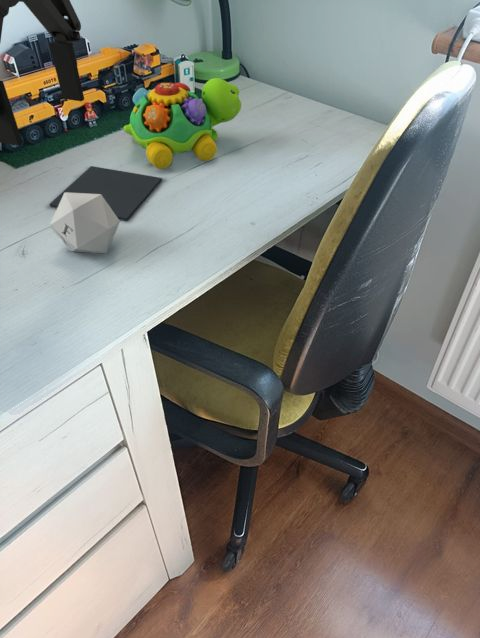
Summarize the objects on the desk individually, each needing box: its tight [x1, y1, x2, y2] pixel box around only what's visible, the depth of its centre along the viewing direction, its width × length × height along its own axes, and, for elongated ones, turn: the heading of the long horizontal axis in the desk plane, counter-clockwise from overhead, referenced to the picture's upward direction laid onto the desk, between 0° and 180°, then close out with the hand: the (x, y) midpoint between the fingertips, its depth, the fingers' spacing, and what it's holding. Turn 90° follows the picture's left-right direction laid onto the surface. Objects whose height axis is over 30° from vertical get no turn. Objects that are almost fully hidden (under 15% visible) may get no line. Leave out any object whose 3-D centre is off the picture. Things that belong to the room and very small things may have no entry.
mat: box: [49, 165, 163, 222], centre depth 88 cm, size 14×14×1 cm
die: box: [48, 192, 121, 254], centre depth 75 cm, size 8×9×10 cm
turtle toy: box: [123, 77, 242, 170], centre depth 97 cm, size 17×23×12 cm
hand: (44, 119), depth 62 cm, fingers open, 13 cm apart
